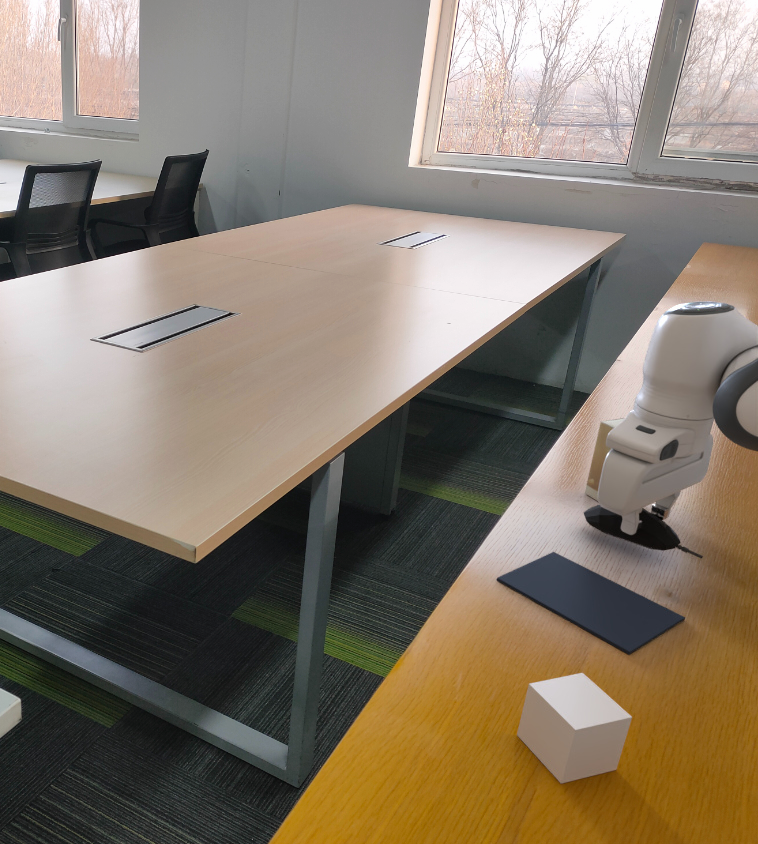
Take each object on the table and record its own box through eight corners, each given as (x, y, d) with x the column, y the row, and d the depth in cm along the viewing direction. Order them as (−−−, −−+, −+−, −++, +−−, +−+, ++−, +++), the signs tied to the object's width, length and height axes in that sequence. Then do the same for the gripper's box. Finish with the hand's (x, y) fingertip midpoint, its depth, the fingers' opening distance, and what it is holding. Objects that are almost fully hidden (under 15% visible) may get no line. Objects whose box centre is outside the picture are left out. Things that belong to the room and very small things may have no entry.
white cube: (516, 735, 75) (528, 683, 73) (569, 723, 77) (582, 672, 75) (561, 784, 70) (575, 729, 68) (616, 770, 71) (632, 716, 69)
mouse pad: (684, 620, 93) (685, 617, 93) (629, 654, 87) (630, 651, 87) (552, 554, 106) (553, 551, 106) (496, 580, 100) (496, 577, 100)
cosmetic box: (614, 488, 125) (633, 416, 121) (636, 501, 122) (656, 426, 117) (581, 493, 123) (599, 419, 119) (603, 506, 120) (622, 430, 115)
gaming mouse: (694, 567, 100) (702, 539, 98) (575, 524, 110) (580, 498, 108) (710, 550, 104) (718, 523, 103) (593, 509, 114) (599, 484, 112)
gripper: (686, 406, 109) (662, 496, 114) (599, 436, 98) (577, 534, 104) (736, 420, 104) (708, 514, 109) (649, 454, 93) (624, 556, 99)
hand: (644, 525), depth 106 cm, fingers closed on gaming mouse, 5 cm apart
